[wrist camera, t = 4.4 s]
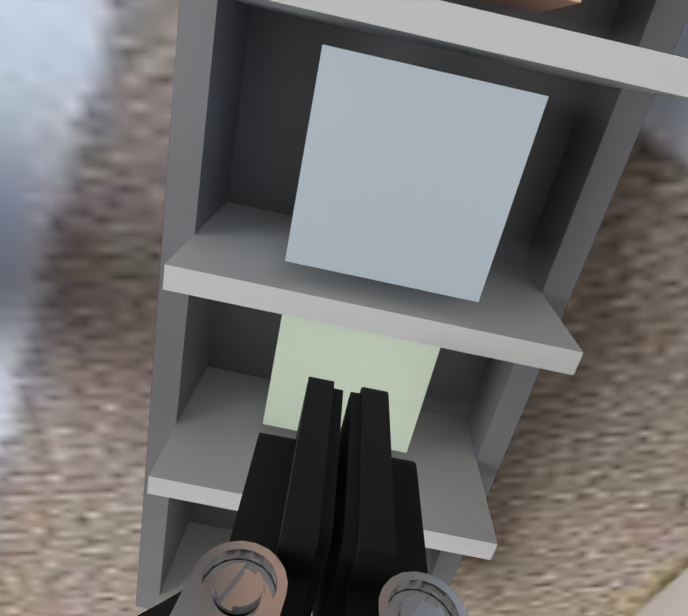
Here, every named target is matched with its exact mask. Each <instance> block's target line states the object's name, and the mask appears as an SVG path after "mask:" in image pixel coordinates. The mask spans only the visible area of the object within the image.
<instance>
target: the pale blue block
mask: <svg viewBox="0 0 688 616" xmlns="http://www.w3.org/2000/svg"><path fill="white" fill-rule="evenodd" d="M548 97H549V96H545V95H541V94H537V93H533V92H529V91H525V90H521V89H517V88H512V87H508V86H504V85H499V84H495V83H491V82H486V81H482V80H478V79H473V78H469V77H465V76H460V75H456V74H452V73H447V72H443V71H438V70H434V69H430V68H425V67H421V66H417V65H412V64H408V63H404V62H399V61H395V60H391V59H386V58H382V57H377V56H373V55H369V54H364V53H360V52H356V51H351V50H347V49H343V48H338V47H334V46H329V45H323V44H322V50H321V56H320V62H319V67H318V73H317V79H316V85H315V90H314V96H313V102H312V108H311V114H310V119H309V125H308V131H307V137H306V142H305V148H304V154H303V160H302V165H301V171H300V177H299V183H298V189H297V194H296V200H295V206H294V212H293V217H292V223H291V229H290V235H289V241H288V246H287V252H286V258H285V261H287V262H292V263H297V264H302V265H306V266H311V267H316V268H320V269H325V270H330V271H334V272H339V273H344V274H348V275H353V276H358V277H363V278H367V279H372V280H377V281H381V282H386V283H391V284H395V285H400V286H405V287H409V288H414V289H419V290H424V291H428V292H433V293H438V294H442V295H447V296H452V297H456V298H461V299H466V300H470V301H475V302H479V299H480V296H481V293H482V290H483V288H484V285H485V282H486V279H487V276H488V273H489V270H490V267H491V264H492V261H493V258H494V255H495V252H496V249H497V247H498V244H499V241H500V238H501V235H502V232H503V229H504V226H505V223H506V220H507V217H508V214H509V211H510V209H511V206H512V203H513V200H514V197H515V194H516V191H517V188H518V185H519V182H520V179H521V176H522V173H523V170H524V168H525V165H526V162H527V159H528V156H529V153H530V150H531V147H532V144H533V141H534V138H535V135H536V132H537V129H538V127H539V124H540V121H541V118H542V115H543V112H544V109H545V106H546V103H547V100H548Z"/></svg>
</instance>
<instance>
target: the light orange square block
mask: <svg viewBox="0 0 688 616" xmlns="http://www.w3.org/2000/svg"><path fill="white" fill-rule="evenodd" d="M480 1H485V2H489V3H493V4H497V5H502V6H506V7H510V8H514V9H519V10H523V11H527V12H531V13H535V14H537V13H541V12H545V11H549V10H554V9H558V8H562V7H566V6H570V5H574V4H578V3H581V1H582V0H480Z"/></svg>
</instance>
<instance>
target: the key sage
mask: <svg viewBox="0 0 688 616" xmlns="http://www.w3.org/2000/svg"><path fill="white" fill-rule="evenodd" d="M439 351H440V347H436V346H431V345H426V344H421V343H417V342H412V341H407V340H402V339H397V338H393V337H388V336H383V335H378V334H374V333H369V332H364V331H359V330H354V329H350V328H345V327H340V326H335V325H331V324H326V323H321V322H316V321H311V320H307V319H302V318H297V317H292V316H287V315H283V314H282V319H281V324H280V330H279V335H278V341H277V346H276V352H275V358H274V363H273V369H272V374H271V380H270V386H269V391H268V397H267V402H266V408H265V414H264V419H263V424H265V425H270V426H275V427H280V428H285V429H290V430H295V431H297V430H298V425H299V420H300V415H301V411H302V406H303V401H304V397H305V392H306V387H307V383H308V378H309V376H310V377H315V378H320V379H325V380H330V381H334V388H335V389H340V390H343V402H342V415H341V426H342V422H343V419H344V415H345V411H346V407H347V403H348V399H349V396H350V393H351V392H355V393H360V390H361V388H362V387H366V388H371V389H376V390H382V391H387V392H388V395H389V413H390V433H391V450H395V451H400V452H405V453H407V450H408V447H409V444H410V441H411V438H412V434H413V431H414V428H415V425H416V422H417V419H418V416H419V413H420V410H421V406H422V403H423V400H424V397H425V394H426V391H427V388H428V385H429V382H430V378H431V375H432V372H433V369H434V366H435V363H436V360H437V357H438V354H439ZM340 430H341V429H340Z"/></svg>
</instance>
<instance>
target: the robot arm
mask: <svg viewBox="0 0 688 616" xmlns="http://www.w3.org/2000/svg"><path fill="white" fill-rule="evenodd" d="M342 402H343V390H340V389H335V388H334V381H330V380H325V379H320V378H315V377H310V376H309V378H308V383H307V387H306V392H305V397H304V401H303V406H302V411H301V415H300V420H299V425H298V430H297V434H296V439H293V438H287V437H282V436H277V435H272V434H266V433H261V432H260V433H259V435H258V439H257V442H256V446H255V449H254V453H253V457H252V460H251V464H250V468H249V471H248V475H247V479H246V482H245V486H244V490H243V493H242V497H241V501H240V504H239V508H238V512H237V515H236V519H235V523H234V526H233V530H232V534H231V537H230V541H229V542H226V543H224V544H221V545H218V546H216V547H214V548H212V549H211V550H210V551H208V552H207V553H206V554H204V555H203V556H202V558H201V559H200V560H199V562H198V563H197V564H196V566H195V567H194V569H193V571H192V573H191V575H190V577H189V579H188V581H187V583H186V585H185V587H184V589H183V590H182V591H180V592H179V593H177V594H175V595H173V596H172V597H170V598H168V599H166V600H165V601H163V602H161V603H159V604H157V605H156V606H154V607H152V608H150V609H149V610H147V611H145V612H143V613H142V614H140V615H138V616H311V615H312V616H469V615H468V612H467V610H466V608H465V606H464V604H463V602H462V600H461V599H460V598H459V596H458V595H457V594H456V593H455V592H454V590H453V589H452V588H450V587H449V586H448V585H447V584H445V583H444V582H443V581H442V580H440V579H438V578H436V577H433V576H431V575H429V574H428V569H427V559H426V550H425V540H424V531H423V521H422V512H421V502H420V493H419V483H418V474H417V467H416V464H415V462H414V461H409V460H404V459H398V458H393V457H392V453H391V433H390V413H389V395H388V392H387V391H382V390H376V389H371V388H366V387H362V388H361V390H360V393H355V392H351V393H350V396H349V399H348V403H347V407H346V411H345V415H344V419H343V422H342V426H341V415H342ZM340 429H341V430H340Z"/></svg>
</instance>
